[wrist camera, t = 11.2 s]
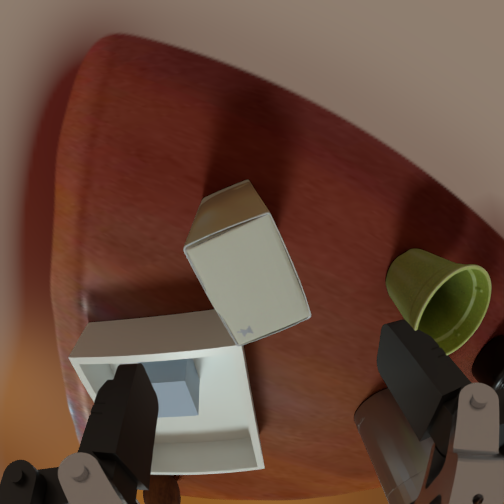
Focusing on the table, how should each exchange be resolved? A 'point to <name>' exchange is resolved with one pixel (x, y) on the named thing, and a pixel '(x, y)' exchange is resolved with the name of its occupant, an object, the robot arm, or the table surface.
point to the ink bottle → (491, 364)
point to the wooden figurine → (162, 490)
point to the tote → (210, 390)
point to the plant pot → (439, 296)
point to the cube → (175, 386)
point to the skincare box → (245, 265)
